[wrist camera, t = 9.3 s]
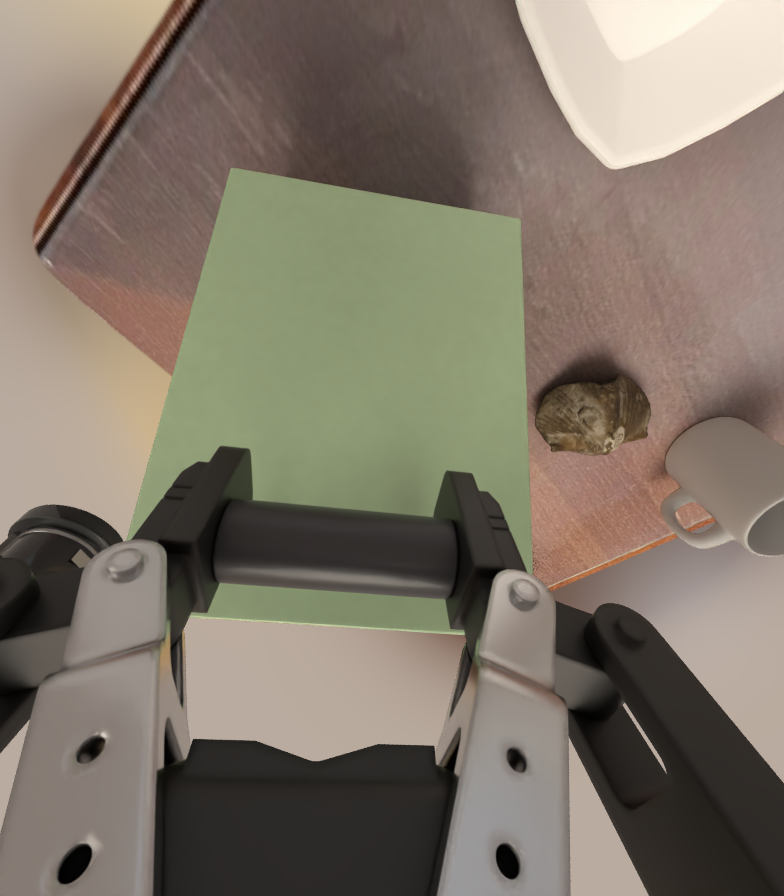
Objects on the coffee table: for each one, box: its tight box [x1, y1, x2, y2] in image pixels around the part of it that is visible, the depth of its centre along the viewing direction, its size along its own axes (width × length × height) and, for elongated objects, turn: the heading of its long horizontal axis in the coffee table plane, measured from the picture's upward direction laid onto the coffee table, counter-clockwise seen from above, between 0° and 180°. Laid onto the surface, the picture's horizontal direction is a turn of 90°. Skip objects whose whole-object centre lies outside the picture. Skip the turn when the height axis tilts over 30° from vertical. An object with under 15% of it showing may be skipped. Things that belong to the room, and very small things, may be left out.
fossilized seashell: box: [535, 374, 651, 456], centre depth 35 cm, size 8×7×10 cm
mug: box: [660, 417, 784, 557], centre depth 37 cm, size 12×8×11 cm
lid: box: [126, 168, 533, 635], centre depth 13 cm, size 19×14×5 cm
